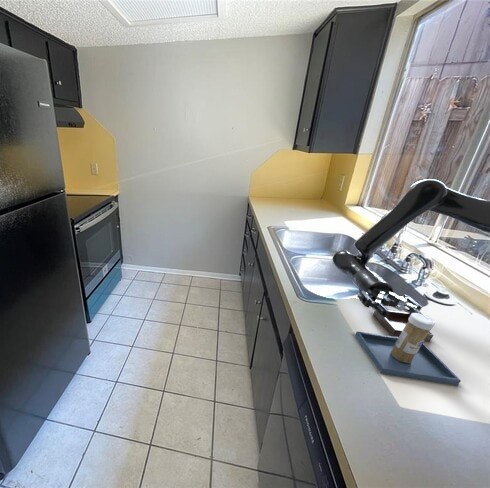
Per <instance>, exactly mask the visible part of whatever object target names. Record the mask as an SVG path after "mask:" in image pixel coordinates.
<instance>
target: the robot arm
mask: <svg viewBox="0 0 490 488" xmlns="http://www.w3.org/2000/svg"><path fill="white" fill-rule="evenodd" d="M427 211H428V212H429V211H430V212H433V213H436V214H440V215H443V216H447V217H449V218H452V219H454V220H456V221H458V222H460V223H462V224H464V225H466V226H469V227H471V228H473V229H475V230H477V231H479V232H481V233H484V234H486V235H488V236H490V200H489V199H488V200H487V199H482V198H479V197H478V198H477V197H475V196H474V197H473V196H470V195H467V194H464V193H461V192H459V191H456V190H453V189H451V188H448V187H447V186H446V185H445V184H444V182H442V181H439V180H437V179H430V178H429V179H423V180H419V181H417V182H415V183H413V184H412V185H411V186H409V188H408V189H407V191H406V193H405V195H404V196H403V197H402V198H401V200H400V201H399V202H398V203H397V204H396V205H395V206H394V207H393V208H392V209H391V210H390V211H389V212H388V213H387V214H386V215H384V217H382V218H381V219H379V221H377V222H376V223H375V224H373V225H372V226H371V227H370V228H369V229H368V230H367V231H365V232H364V233H363V234H362V235H361V236H360V237H358V239H356V241H354V243H353V246H354V248H355V249H356V250H357V251H358V252H357V253H356V255H355V254H354V253H352V252H350V251H348V250H345V249H341V250H340V249H339V250H337V251H336V252H335V253H333V254H332V258H331V262H332V264H333V265H334V267H336V269H338V270H339V271H340V272H342V273H343V274H344V275H345V276H347V277H348V279H349V280H350V281H351V282H352V283H353V284H354V286H355V287H356V288H357V290H358V291H359V292H358V294H357V296H356V297H357V298H358V299H359V301H360V302H361V303H362V305H363V306H364V307H366V308H372V309H373V310H374V311H375V310H376V311H377V312H378V313H379V314H380V315H382V316H383V317H385V318H387V317H388V315H389V313H390V312H389V311H388V310H389V309H388V308H387V307H391V308H394V309H395V310H397V311H399V312H402V311H403V312H405V313H409V314H410V315H411V314H412V313H419V314H422V315H424V314H423V313H422V312H421V310H422V308H423V305H421V304H420V303H418V302H417V301H416V300H415V299H414V298H413V297H411V296H410V295H407V294H404V295H403V296H399V294H397V293H395V292H394V289H393V287H392V285H390V283H388V282H387V280H385V279H384V278H383V277H382V276H380V275H379V274H378V273H376V272H375V271H374V270H373V269H371V268H370V267H369V266H368V265H367V264H368V263H369V261H370V260H371V258H372V257H373V255H374V254H375V253H376V252H377V251H379V250H380V249H382V247H384V246H385V245H386V244H387V243H388V242H389V241H391V240H392V239H393V238H394V237H395V236H396V235H397V234H398V233H399V232H400V231H402V230H403V229H404V228H405V227H406V226H407V225H408V224H409V223H411V222H413V221H414V220H415V219H416V218H418V217H419V216H421V215H422V214H424V213H425V212H427ZM400 302H401V304H400V305H399V303H400ZM406 307H407V308H406Z"/></svg>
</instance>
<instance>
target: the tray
mask: <svg viewBox="0 0 490 488" xmlns="http://www.w3.org/2000/svg"><path fill="white" fill-rule="evenodd" d="M354 337H355V339H356V340H357V341H358V343H359V344H360V345H361V348H362V349H363V351H365V353H366V354H367V356H368V357H369V359H370V360H371V362H372V363H373V365H374V366H375V367H376V369H377V370H378V372H379V373H380V374H383V375H390V376H396V377H400V378H406V379H407V378H408V379H414V380H419V381H426V382H431V383H437V384H444V385H451V386H459V385H460V383H461V382H462V380H461V379H460V378H459V377H458V376H457V375H456V374H455V373H454V372H453V371H452V370H451V369H450V368H449V367H448V366H447V365H446V364H445V363H444V362H443V361H442V360H441V359H440V358H439V357H438V356H437V355H436V353H434V352H433V351H432V349H430V348H429V347H428V346H427V344H426V343H424V342H423V343H422V345H421V347H420V348H419V350H418V352H417V353H416V354H415V356H414V358H413V359H412V362H411V363H404V362H401V361H399V360H397V359H396V358H394V357H393V356H392V354H391V350H393V348H394V346H395V344H396V342H397V340H398V338H399V337H394V336H392V335H384V334H377V333H371V332H364V331H363V332H362V331H356V332H355V334H354Z"/></svg>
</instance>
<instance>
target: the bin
mask: <svg viewBox="0 0 490 488" xmlns="http://www.w3.org/2000/svg"><path fill="white" fill-rule="evenodd" d="M388 311H389V312H390V313H389V315H388V317H387V318H385V317H383V316H382V315H380V314H379V313H378V312H377V311H376V310H375V309H374V311H373V314H372V315H373V316H374V317H375V319H377V321H378V322H379V323H380V324H381V325H382V327H384V329H385V330H386V331H387V333H388V334H389V335H390V336H392V337H399V336H400V334H401V333H402V331H403V329H404V328H405V326H406V324H407V322H408V319H409V317H410V314H409V313H407V312H405V311H403V312H402V311H398V310H397V311H396V310H390V309H388ZM433 337H434V334H433V332H431V330H430V331H429V333H428V334H427V336H426V338H425V340H424V342H430V343H431V341H432V340H433Z"/></svg>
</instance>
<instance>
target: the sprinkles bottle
mask: <svg viewBox="0 0 490 488" xmlns="http://www.w3.org/2000/svg"><path fill="white" fill-rule="evenodd" d="M422 314H423V313H422ZM422 314H419V313H412V314H411V315H410V317H409V319H408V322H407V324H406V326H405V328H404V329H403V331H402V333H401V334H400V336H399V338H398V340H397V342H396V344H395V346H394V348H393V350H391V354H392V356H393V357H394V358H396V359H397V360H399V361H401V362H404V363H411V362H412V359H413V358H414V356H415V354H416V353H417V352H418V350H419V348H420V347H421V345H422V343H424V342H425V341H424V340H425V338H426V336H427V334H428V333H429V331H430V332H431V331H432V330H433V328H434V327H435V325H436V322H435V321H434V319H432V318H431V317H429V316H427V315H425V314H423V315H422Z"/></svg>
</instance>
